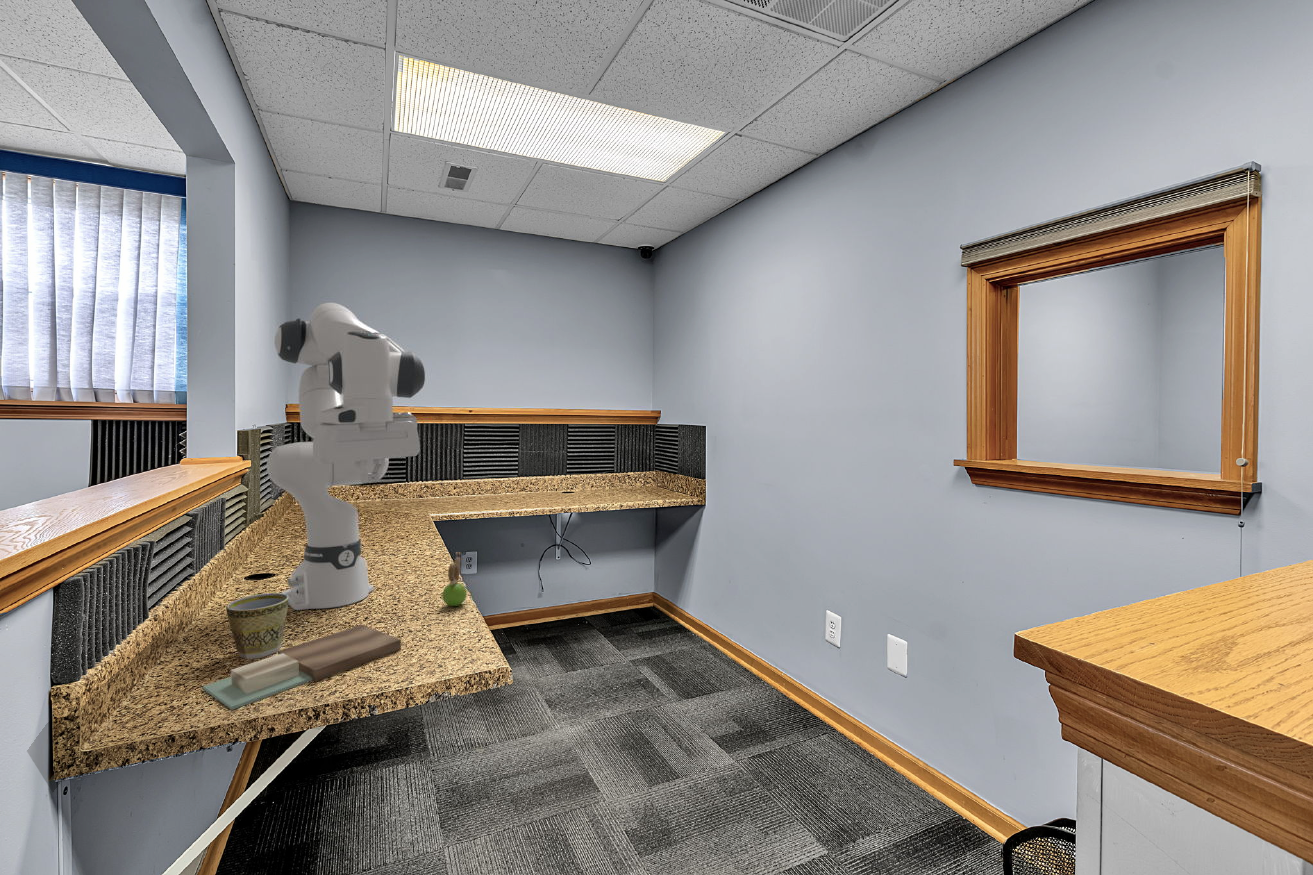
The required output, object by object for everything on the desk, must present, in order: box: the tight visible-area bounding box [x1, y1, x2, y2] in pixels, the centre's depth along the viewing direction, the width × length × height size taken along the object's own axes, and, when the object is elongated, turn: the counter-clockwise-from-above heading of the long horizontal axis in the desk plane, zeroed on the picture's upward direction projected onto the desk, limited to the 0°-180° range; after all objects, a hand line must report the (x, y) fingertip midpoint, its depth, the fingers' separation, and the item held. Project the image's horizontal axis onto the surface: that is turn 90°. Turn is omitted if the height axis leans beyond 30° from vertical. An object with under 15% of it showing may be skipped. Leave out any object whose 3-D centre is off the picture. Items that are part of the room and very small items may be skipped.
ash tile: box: [230, 653, 299, 694], centre depth 101 cm, size 6×8×2 cm
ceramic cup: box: [225, 592, 289, 660], centre depth 115 cm, size 13×10×10 cm
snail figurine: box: [441, 551, 467, 607], centre depth 140 cm, size 5×6×12 cm
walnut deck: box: [277, 624, 402, 682], centre depth 112 cm, size 14×16×2 cm
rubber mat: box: [202, 671, 313, 711], centre depth 100 cm, size 12×12×1 cm
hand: (370, 482), depth 118 cm, fingers closed
